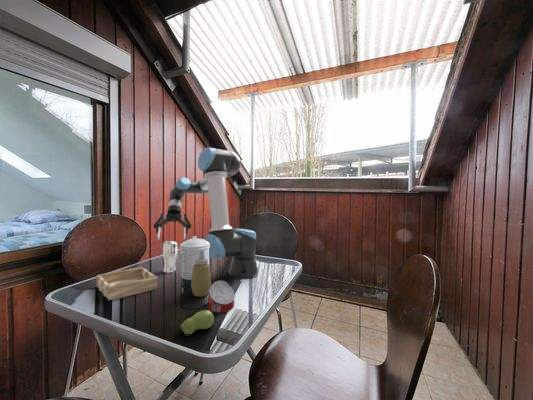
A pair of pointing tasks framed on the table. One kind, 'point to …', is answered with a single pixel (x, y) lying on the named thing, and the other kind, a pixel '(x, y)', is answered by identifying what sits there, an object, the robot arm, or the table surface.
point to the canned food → (220, 297)
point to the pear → (198, 322)
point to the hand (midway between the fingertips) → (171, 238)
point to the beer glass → (169, 256)
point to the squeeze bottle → (201, 276)
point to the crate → (126, 283)
